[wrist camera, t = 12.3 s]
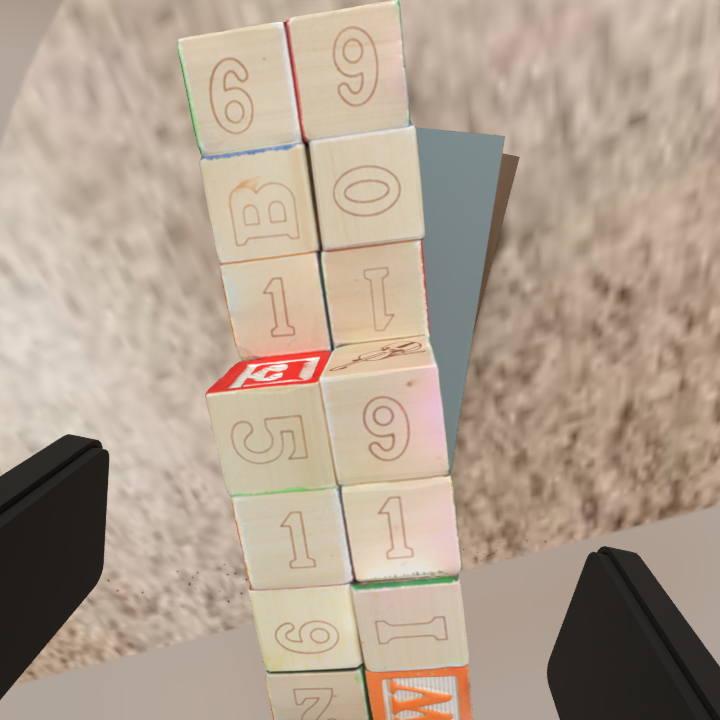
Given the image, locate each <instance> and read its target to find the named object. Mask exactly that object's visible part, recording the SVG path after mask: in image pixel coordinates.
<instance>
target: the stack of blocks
mask: <svg viewBox="0 0 720 720" xmlns="http://www.w3.org/2000/svg"><path fill="white" fill-rule="evenodd" d="M177 43H178V54H179V58H180V62H181V67H182V72H183V77H184V82H185V87H186V92H187V96H188V101H189V106H190V112H191V117H192V122H193V127H194V132H195V135H196V140H197V145H198V148H199V150H200V153H201V155H202V158H201V159H200V161H199V162H200V170H201V175H202V180H203V185H204V190H205V195H206V200H207V205H208V210H209V215H210V220H211V224H212V229H213V234H214V239H215V245H216V250H217V255H218V259H219V261H220V264H221V268H220V271H221V279H222V283H223V288H224V294H225V299H226V303H227V308H228V312H229V317H230V321H231V326H232V330H233V335H234V340H235V345H236V348H237V351H238V353H239V356H240V358H241V359H242V362H239V363H237V364H235V365H234V366H233V367H232V368H231V369H230V370H229V371H228V372H227V373H226V374H225V375H224V376H223V377H221V379H219V380H218V381H217V382H216V383H215V384H214V385H213V386H212V387H211V388H210V389H209V390H208V391H207V392H206V394H205V397H206V402H207V407H208V411H209V415H210V420H211V424H212V428H213V433H214V437H215V441H216V444H217V449H218V454H219V459H220V464H221V468H222V473H223V477H224V481H225V486H226V490H227V493H228V494H229V495H230V496H231V499H232V505H233V511H234V516H235V522H236V526H237V530H238V535H239V539H240V543H241V547H242V550H243V556H244V562H245V566H246V571H247V575H248V579H249V582H250V586H249V597H250V602H251V607H252V612H253V617H254V621H255V626H256V631H257V635H258V640H259V644H260V648H261V654H262V658H263V663H264V667H265V669H266V670H267V671H266V684H267V689H268V694H269V700H270V705H271V710H272V715H273V720H474V719H473V709H472V698H471V687H470V676H469V667H468V662H469V651H468V643H467V635H466V626H465V618H464V609H463V601H462V593H461V585H460V580H459V573H458V572H459V571H460V570H461V569H462V561H461V550H460V544H459V535H458V525H457V516H456V507H455V499H454V490H453V484H452V479H451V475H450V470H449V455H448V447H447V438H446V429H445V420H444V411H443V402H442V393H441V385H440V374H439V367H438V364H437V361H436V358H435V354H434V350H433V346H432V342H431V339H430V326H429V314H428V302H427V291H426V280H425V268H424V256H423V243H422V240H423V238H424V236H425V224H424V211H423V198H422V186H421V175H420V165H419V154H418V144H417V133H416V128H415V127H414V125H412V124H411V122H410V111H409V100H408V89H407V77H406V66H405V56H404V44H403V31H402V22H401V10H400V3H399V0H393V1H387V2H381V3H375V4H368V5H362V6H357V7H352V8H346V9H341V10H335V11H328V12H320V13H314V14H308V15H303V16H296V17H291V18H289V19H288V20H287V21H286V22H278V23H269V24H262V25H256V26H250V27H244V28H238V29H232V30H228V31H223V32H216V33H209V34H204V35H198V36H191V37H186V38H181V39H178V42H177Z"/></svg>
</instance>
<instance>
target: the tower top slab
mask: <svg viewBox="0 0 720 720" xmlns="http://www.w3.org/2000/svg"><path fill="white" fill-rule="evenodd" d="M416 133H417V144H418V154H419V165H420V175H421V186H422V198H423V211H424V224H425V236H424V238H423V240H422V243H423V256H424V268H425V280H426V291H427V302H428V314H429V326H430V339H431V342H432V346H433V350H434V354H435V358H436V361H437V364H438V367H439V374H440V385H441V393H442V402H443V411H444V420H445V429H446V438H447V447H448V455H449V470H450V474H451V468H452V461H453V455H454V449H455V443H456V437H457V430H458V424H459V418H460V412H461V406H462V399H463V393H464V387H465V381H466V375H467V369H468V362H469V356H470V350H471V344H472V338H473V331H474V325H475V319H476V313H477V307H478V301H479V294H480V288H481V282H482V276H483V270H484V263H485V257H486V251H487V245H488V239H489V232H490V226H491V220H492V214H493V208H494V202H495V195H496V189H497V183H498V177H499V171H500V164H501V158H502V152H503V146H504V140H505V136H499V135H488V134H478V133H467V132H457V131H446V130H436V129H426V128H416Z"/></svg>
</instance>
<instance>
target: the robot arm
mask: <svg viewBox="0 0 720 720" xmlns="http://www.w3.org/2000/svg"><path fill="white" fill-rule="evenodd" d="M108 473H109V453H108V451H107V450H105V449H102V444H101V442H100V441H99V440H95V439H90V438H85V437H80V436H75V435H69V434H68V435H65V436H63V437H61V438H60V439H58V440H57V441H55V442H54V443H52V444H50V445H49V446H47V447H46V448H44V449H43V450H41V451H39V452H38V453H36V454H35V455H33V456H32V457H30V458H28V459H27V460H25V461H24V462H22V463H21V464H19V465H17V466H16V467H14V468H13V469H11V470H10V471H8V472H6V473H5V474H3V475H2V476H0V700H1V698H2V697H3V696H4V695H5V694H6V692H7V691H8V690H9V689H10V688H11V686H12V685H13V684H14V683H15V682H16V680H17V679H18V678H19V677H20V676H21V675H22V673H23V672H24V671H25V670H26V669H27V667H28V666H29V665H30V664H31V663H32V661H33V660H34V659H35V658H36V657H37V655H38V654H39V653H40V652H41V651H42V649H43V648H44V647H45V646H46V645H47V643H48V642H49V641H50V640H51V639H52V637H53V636H54V635H55V634H56V633H57V631H58V630H59V629H60V628H61V627H62V625H63V624H64V623H65V622H66V621H67V619H68V618H69V617H70V616H71V615H72V613H73V612H74V611H75V610H76V609H77V607H78V606H79V605H80V604H81V603H82V601H83V600H84V599H85V598H86V597H87V596H88V594H89V593H90V592H91V591H92V590H93V588H94V587H95V586H96V584H97V582H98V581H99V579H100V576H101V574H102V570H103V564H104V545H105V527H106V509H107V491H108ZM547 678H548V684H549V688H550V691H551V694H552V697H553V700H554V703H555V706H556V709H557V712H558V715H559V718H560V720H720V667H719V665H718V664H717V662H716V661H715V660H714V658H713V657H712V655H711V654H710V653H709V651H708V650H707V649H706V647H705V646H704V644H703V643H702V642H701V640H700V639H699V637H698V636H697V635H696V633H695V632H694V631H693V629H692V628H691V626H690V625H689V624H688V623H687V621H686V620H685V618H684V617H683V616H682V614H681V613H680V611H679V610H678V609H677V607H676V606H675V604H674V603H673V602H672V600H671V599H670V597H669V596H668V595H667V593H666V592H665V591H664V589H663V588H662V586H661V585H660V584H659V582H658V581H657V580H656V578H655V577H654V575H653V574H652V573H651V571H650V570H649V568H648V567H647V566H646V564H645V563H644V562H643V560H642V559H641V557H640V556H639V555H638V554H637V553H634V552H630V551H625V550H620V549H615V548H611V547H606V546H604V547H601V548H600V549H599V550H598V552H597V553H596V552H592V553H590V554H589V555H588V557H587V559H586V562H585V565H584V567H583V570H582V573H581V575H580V578H579V581H578V584H577V586H576V589H575V592H574V594H573V597H572V600H571V602H570V605H569V608H568V610H567V613H566V616H565V619H564V621H563V624H562V627H561V629H560V632H559V635H558V637H557V640H556V643H555V645H554V648H553V651H552V654H551V656H550V659H549V662H548V667H547Z"/></svg>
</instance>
